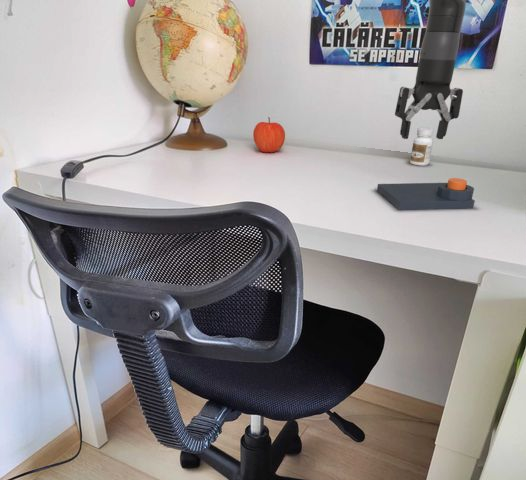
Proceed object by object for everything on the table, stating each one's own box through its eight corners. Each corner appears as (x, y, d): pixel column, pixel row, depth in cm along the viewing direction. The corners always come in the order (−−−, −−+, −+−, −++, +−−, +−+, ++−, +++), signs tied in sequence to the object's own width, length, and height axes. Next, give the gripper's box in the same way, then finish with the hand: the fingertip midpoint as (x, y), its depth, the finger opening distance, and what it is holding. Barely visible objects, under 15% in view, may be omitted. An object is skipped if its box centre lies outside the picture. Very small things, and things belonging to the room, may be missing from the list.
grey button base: (446, 189, 99) (449, 174, 97) (476, 208, 89) (480, 191, 87) (376, 191, 97) (378, 175, 95) (398, 210, 87) (401, 193, 85)
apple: (253, 154, 122) (253, 119, 118) (253, 148, 129) (253, 114, 124) (285, 155, 122) (286, 120, 118) (283, 148, 129) (285, 115, 125)
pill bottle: (406, 163, 117) (412, 128, 113) (416, 160, 120) (422, 126, 116) (422, 166, 115) (428, 131, 111) (432, 164, 117) (439, 129, 113)
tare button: (460, 186, 91) (462, 177, 90) (468, 191, 88) (470, 182, 88) (443, 186, 91) (445, 178, 90) (451, 191, 88) (453, 182, 87)
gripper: (413, 57, 101) (399, 141, 110) (477, 59, 103) (458, 141, 112) (399, 55, 107) (387, 135, 116) (460, 56, 109) (443, 135, 118)
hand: (422, 138), depth 114 cm, fingers open, 8 cm apart
